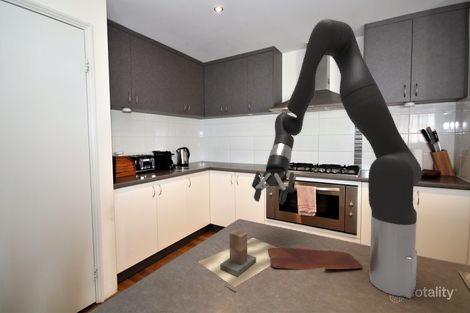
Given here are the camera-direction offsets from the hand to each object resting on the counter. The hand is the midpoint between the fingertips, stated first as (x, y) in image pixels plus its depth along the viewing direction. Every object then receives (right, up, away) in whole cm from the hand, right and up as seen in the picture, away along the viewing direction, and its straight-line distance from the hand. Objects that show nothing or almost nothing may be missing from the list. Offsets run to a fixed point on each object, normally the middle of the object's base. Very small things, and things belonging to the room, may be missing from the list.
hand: (268, 201), depth 72 cm
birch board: (-7, -18, -3) cm, 19 cm away
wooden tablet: (+13, -17, -4) cm, 22 cm away
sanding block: (-10, -17, -8) cm, 21 cm away
